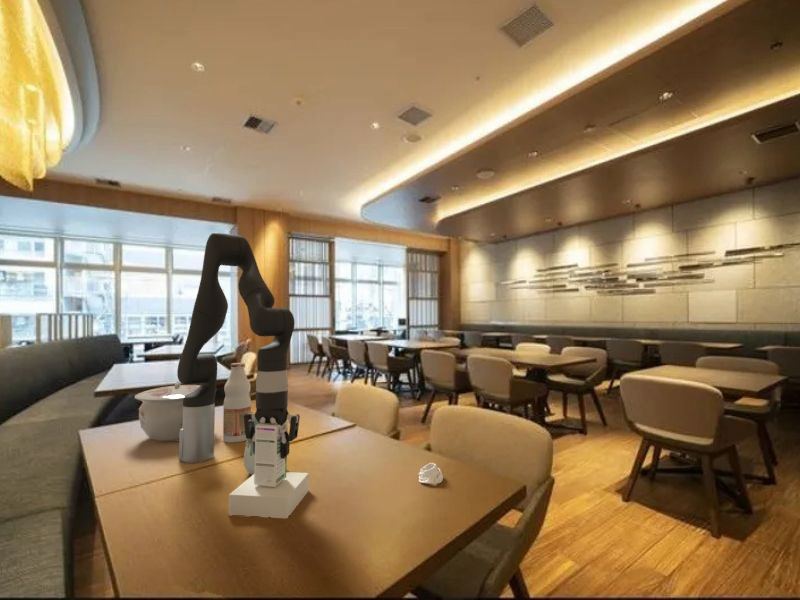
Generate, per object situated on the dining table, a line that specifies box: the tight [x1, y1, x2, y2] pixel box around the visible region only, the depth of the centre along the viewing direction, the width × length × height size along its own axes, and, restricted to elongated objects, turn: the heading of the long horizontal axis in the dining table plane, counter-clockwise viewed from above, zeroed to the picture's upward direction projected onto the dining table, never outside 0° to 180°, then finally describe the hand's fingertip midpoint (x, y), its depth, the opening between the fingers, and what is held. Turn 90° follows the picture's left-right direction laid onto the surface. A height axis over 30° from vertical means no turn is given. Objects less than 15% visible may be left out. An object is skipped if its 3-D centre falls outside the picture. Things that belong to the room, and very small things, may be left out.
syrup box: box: [254, 420, 288, 487], centre depth 97 cm, size 6×6×14 cm
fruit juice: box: [222, 362, 252, 444], centre depth 146 cm, size 9×9×28 cm
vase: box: [243, 418, 259, 476], centre depth 115 cm, size 12×12×18 cm
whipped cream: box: [418, 462, 444, 485], centre depth 108 cm, size 8×7×5 cm
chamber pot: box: [134, 381, 201, 442], centre depth 150 cm, size 28×28×21 cm
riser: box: [228, 471, 310, 519], centre depth 96 cm, size 14×14×5 cm
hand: (271, 456), depth 97 cm, fingers open, 6 cm apart
